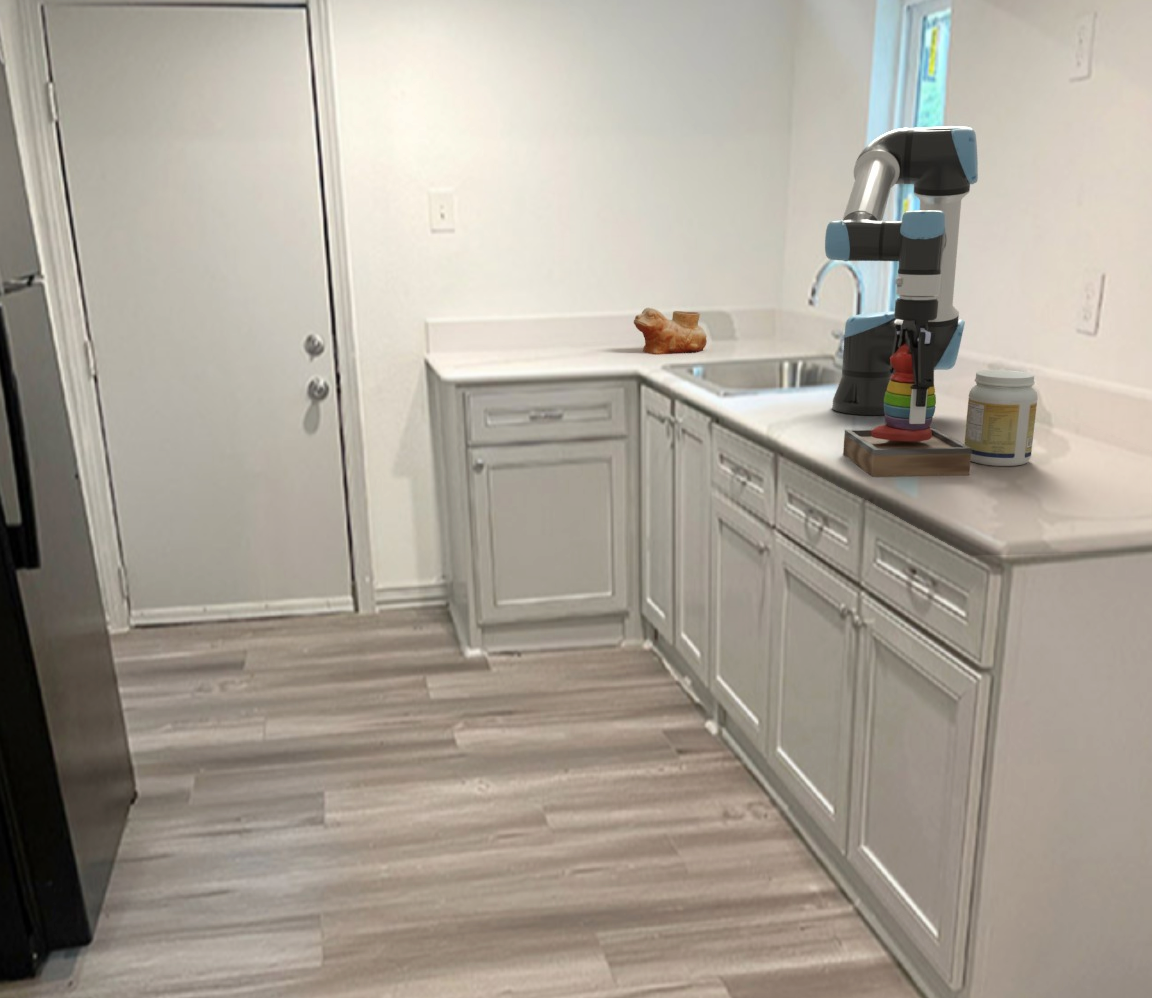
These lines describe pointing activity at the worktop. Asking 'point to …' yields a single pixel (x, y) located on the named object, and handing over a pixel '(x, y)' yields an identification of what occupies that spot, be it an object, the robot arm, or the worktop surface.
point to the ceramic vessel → (670, 332)
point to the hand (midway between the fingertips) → (907, 418)
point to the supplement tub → (1001, 417)
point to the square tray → (907, 455)
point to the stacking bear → (903, 403)
